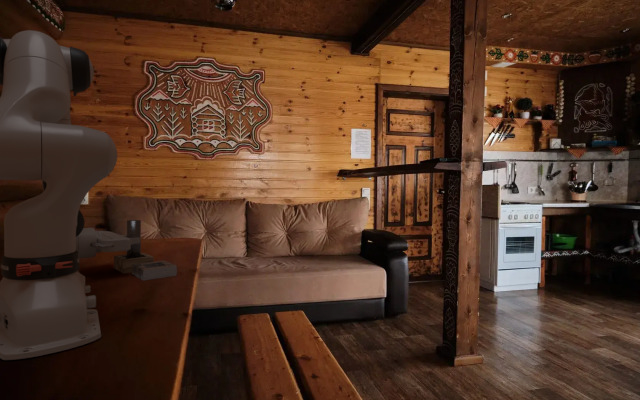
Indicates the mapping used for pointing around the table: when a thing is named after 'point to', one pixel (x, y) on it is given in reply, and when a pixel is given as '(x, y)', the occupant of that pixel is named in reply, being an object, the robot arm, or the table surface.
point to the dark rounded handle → (134, 231)
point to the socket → (154, 270)
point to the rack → (130, 262)
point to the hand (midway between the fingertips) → (136, 239)
